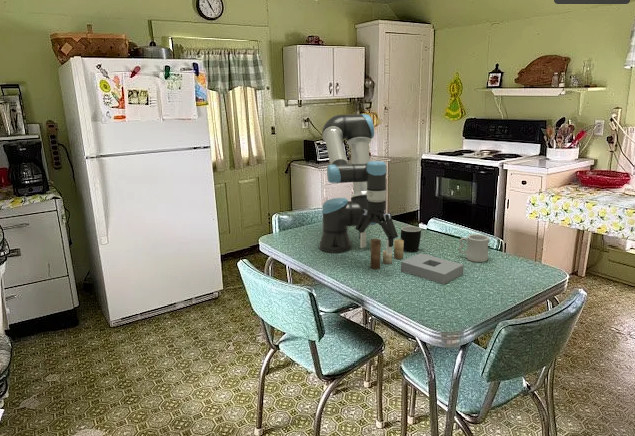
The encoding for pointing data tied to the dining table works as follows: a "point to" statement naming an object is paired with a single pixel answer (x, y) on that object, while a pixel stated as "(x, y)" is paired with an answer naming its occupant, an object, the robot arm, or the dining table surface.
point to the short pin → (387, 258)
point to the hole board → (432, 268)
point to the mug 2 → (476, 247)
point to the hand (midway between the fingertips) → (375, 250)
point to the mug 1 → (411, 238)
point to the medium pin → (398, 248)
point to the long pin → (375, 253)
